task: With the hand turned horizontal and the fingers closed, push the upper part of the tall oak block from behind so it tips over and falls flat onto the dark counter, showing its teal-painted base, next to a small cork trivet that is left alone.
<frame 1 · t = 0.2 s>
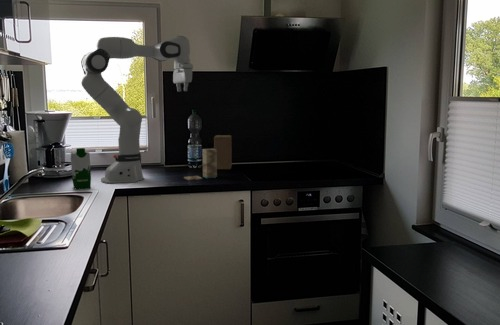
hand: (182, 91, 273), 47 cm above the countertop, tool pointing down, fingers open, 8 cm apart
wooden block: (223, 168, 303), on the countertop
milk carton: (82, 188, 245), on the countertop
cork trivet: (193, 178, 269), on the countertop
tall oak block: (209, 177, 273), on the countertop
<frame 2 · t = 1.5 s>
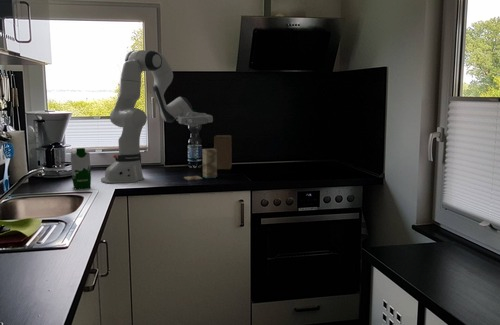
hand: (200, 120, 280), 31 cm above the countertop, tool horizontal, fingers open, 8 cm apart
nothing on the countertop moved.
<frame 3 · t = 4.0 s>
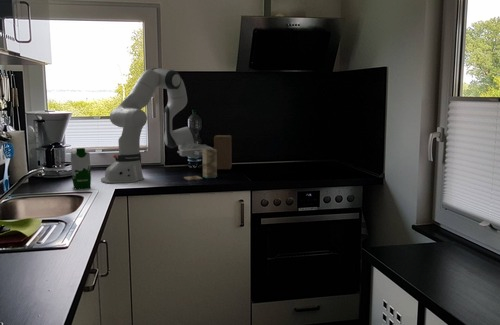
hand: (201, 153, 283), 12 cm above the countertop, tool horizontal, fingers closed
nothing on the countertop moved.
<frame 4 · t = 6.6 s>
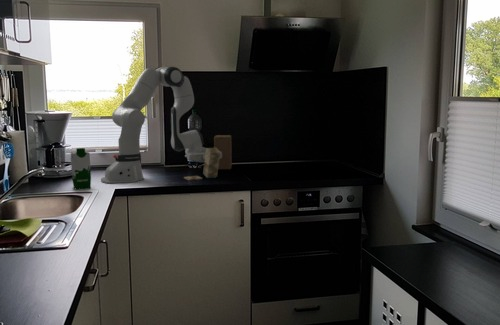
hand: (209, 157, 271), 11 cm above the countertop, tool horizontal, fingers closed
tall oak block: (209, 175, 273), point 1 cm above the countertop, tilted 20°
everything else where it was.
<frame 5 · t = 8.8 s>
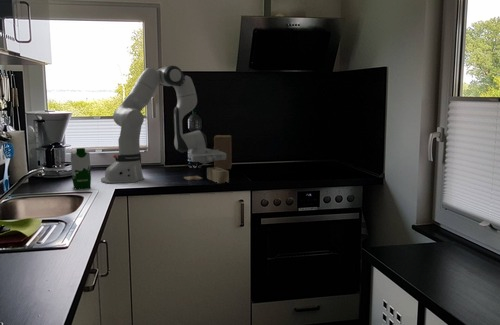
hand: (213, 158, 266), 11 cm above the countertop, tool horizontal, fingers closed
tall oak block: (211, 172, 270), point 3 cm above the countertop, tilted 90°
everything else where it was.
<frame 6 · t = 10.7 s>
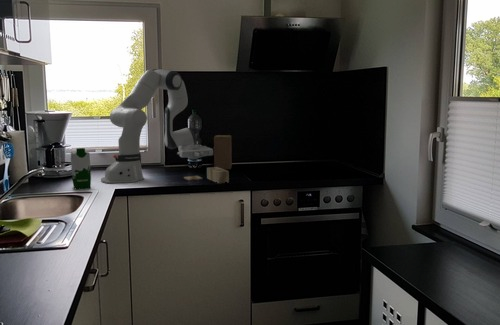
hand: (201, 154, 283), 11 cm above the countertop, tool horizontal, fingers closed
nothing on the countertop moved.
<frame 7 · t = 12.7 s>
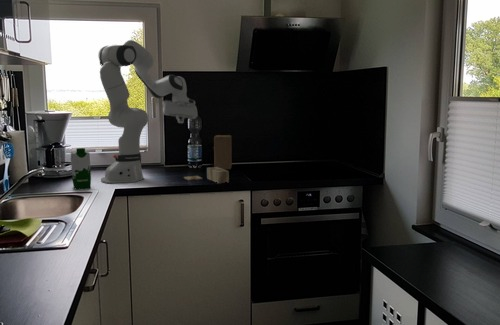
hand: (180, 122, 281), 29 cm above the countertop, tool tilted 35°, fingers closed
nothing on the countertop moved.
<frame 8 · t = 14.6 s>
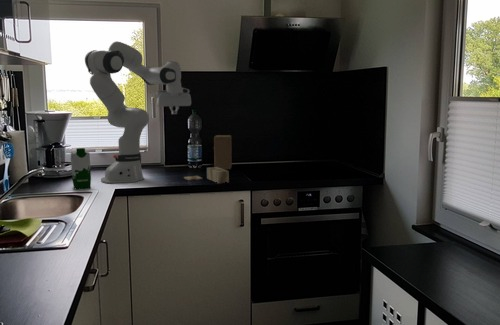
hand: (174, 114, 286), 34 cm above the countertop, tool pointing down, fingers closed
nothing on the countertop moved.
at the end: tall oak block tilted 90°; tall oak block inside the target area (10.9 cm from its centre), point 2.9 cm above the countertop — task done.
